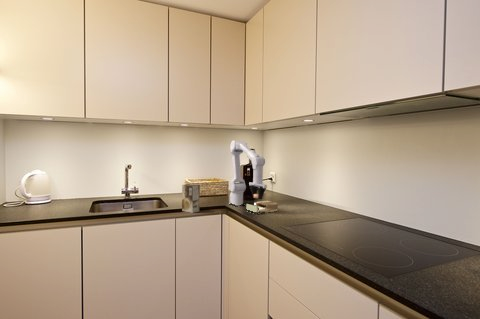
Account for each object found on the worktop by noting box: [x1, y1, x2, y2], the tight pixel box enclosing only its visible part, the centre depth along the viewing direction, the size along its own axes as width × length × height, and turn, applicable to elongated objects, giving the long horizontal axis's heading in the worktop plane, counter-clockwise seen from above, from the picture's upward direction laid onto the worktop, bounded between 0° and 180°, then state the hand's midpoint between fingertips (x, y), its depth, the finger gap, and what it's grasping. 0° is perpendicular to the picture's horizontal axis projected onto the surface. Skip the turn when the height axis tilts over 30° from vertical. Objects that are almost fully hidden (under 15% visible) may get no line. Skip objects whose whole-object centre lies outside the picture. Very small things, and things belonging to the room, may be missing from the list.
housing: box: [256, 200, 279, 211], centre depth 175 cm, size 10×9×5 cm
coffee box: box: [181, 183, 201, 214], centre depth 169 cm, size 9×6×16 cm
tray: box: [245, 203, 266, 212], centre depth 170 cm, size 10×9×4 cm
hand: (257, 198), depth 170 cm, fingers closed on coaster, 5 cm apart
